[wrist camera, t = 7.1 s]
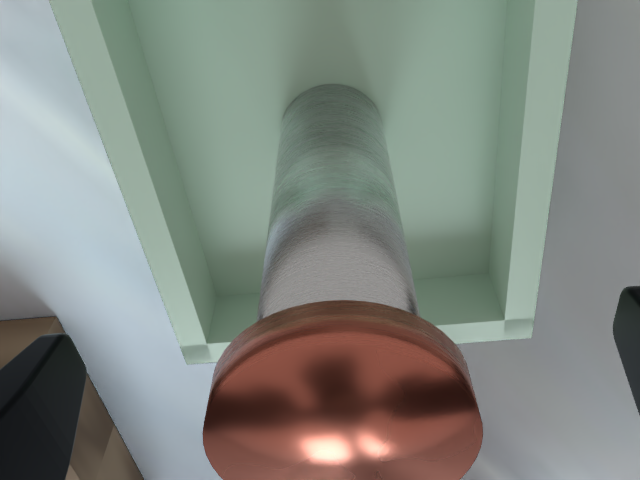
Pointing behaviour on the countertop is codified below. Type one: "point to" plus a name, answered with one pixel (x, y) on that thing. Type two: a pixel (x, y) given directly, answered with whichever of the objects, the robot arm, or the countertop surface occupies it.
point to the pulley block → (94, 421)
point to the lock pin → (339, 325)
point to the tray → (265, 126)
